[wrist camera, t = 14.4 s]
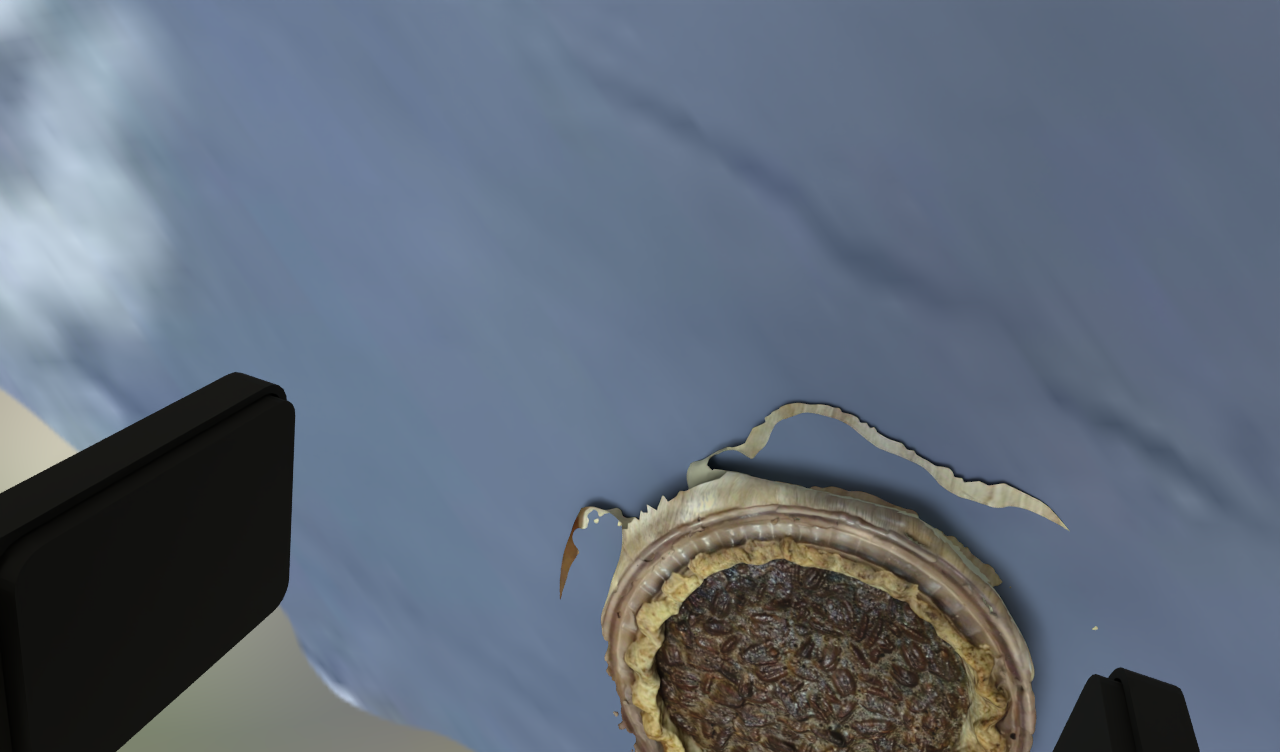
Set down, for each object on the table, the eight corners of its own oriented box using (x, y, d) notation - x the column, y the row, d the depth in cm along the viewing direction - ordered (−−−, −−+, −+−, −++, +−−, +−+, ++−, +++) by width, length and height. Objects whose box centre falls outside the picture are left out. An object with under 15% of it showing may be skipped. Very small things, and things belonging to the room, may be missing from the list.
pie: (1243, 604, 43) (1272, 676, 39) (920, 935, 56) (914, 1017, 51) (685, 301, 46) (653, 336, 42) (499, 681, 59) (460, 738, 54)
